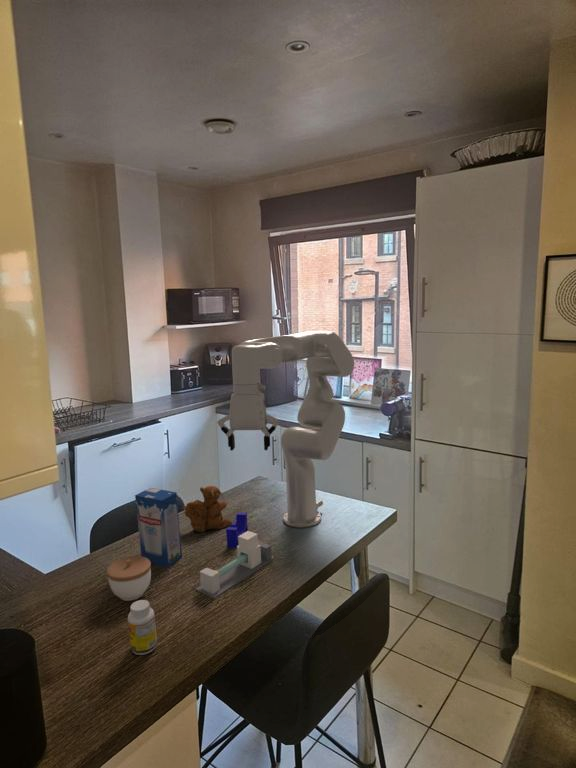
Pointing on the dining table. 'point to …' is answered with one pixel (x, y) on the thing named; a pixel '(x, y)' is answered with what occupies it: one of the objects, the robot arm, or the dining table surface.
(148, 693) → the dining table surface
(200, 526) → the stuffed squirrel
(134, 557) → the lidded jar
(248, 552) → the sleeve
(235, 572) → the threaded rod slide
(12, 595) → the dining table surface
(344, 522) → the dining table surface
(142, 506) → the milk carton
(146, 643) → the supplement bottle
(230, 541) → the blue curved block
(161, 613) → the dining table surface
